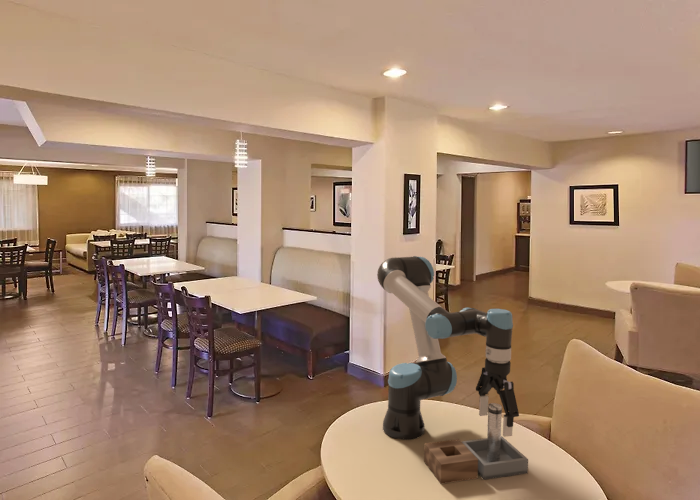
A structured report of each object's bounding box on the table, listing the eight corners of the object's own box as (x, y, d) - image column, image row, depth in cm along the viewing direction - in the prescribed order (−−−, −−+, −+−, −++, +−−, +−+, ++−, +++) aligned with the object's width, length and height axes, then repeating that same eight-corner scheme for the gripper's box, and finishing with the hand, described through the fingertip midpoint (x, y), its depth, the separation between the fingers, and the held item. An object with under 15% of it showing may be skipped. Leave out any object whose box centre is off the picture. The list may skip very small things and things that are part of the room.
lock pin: (483, 457, 142) (485, 403, 140) (495, 456, 143) (497, 402, 141) (490, 464, 138) (492, 409, 136) (502, 463, 139) (504, 407, 137)
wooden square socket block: (423, 461, 141) (424, 443, 140) (458, 456, 144) (458, 439, 143) (440, 483, 129) (441, 464, 129) (477, 478, 132) (478, 459, 132)
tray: (460, 454, 145) (461, 441, 145) (501, 449, 149) (502, 436, 148) (483, 479, 132) (484, 465, 131) (527, 473, 135) (528, 459, 135)
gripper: (466, 347, 148) (464, 408, 150) (510, 375, 124) (507, 447, 126) (487, 346, 150) (484, 406, 152) (534, 373, 126) (530, 444, 128)
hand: (494, 425), depth 139 cm, fingers open, 13 cm apart
